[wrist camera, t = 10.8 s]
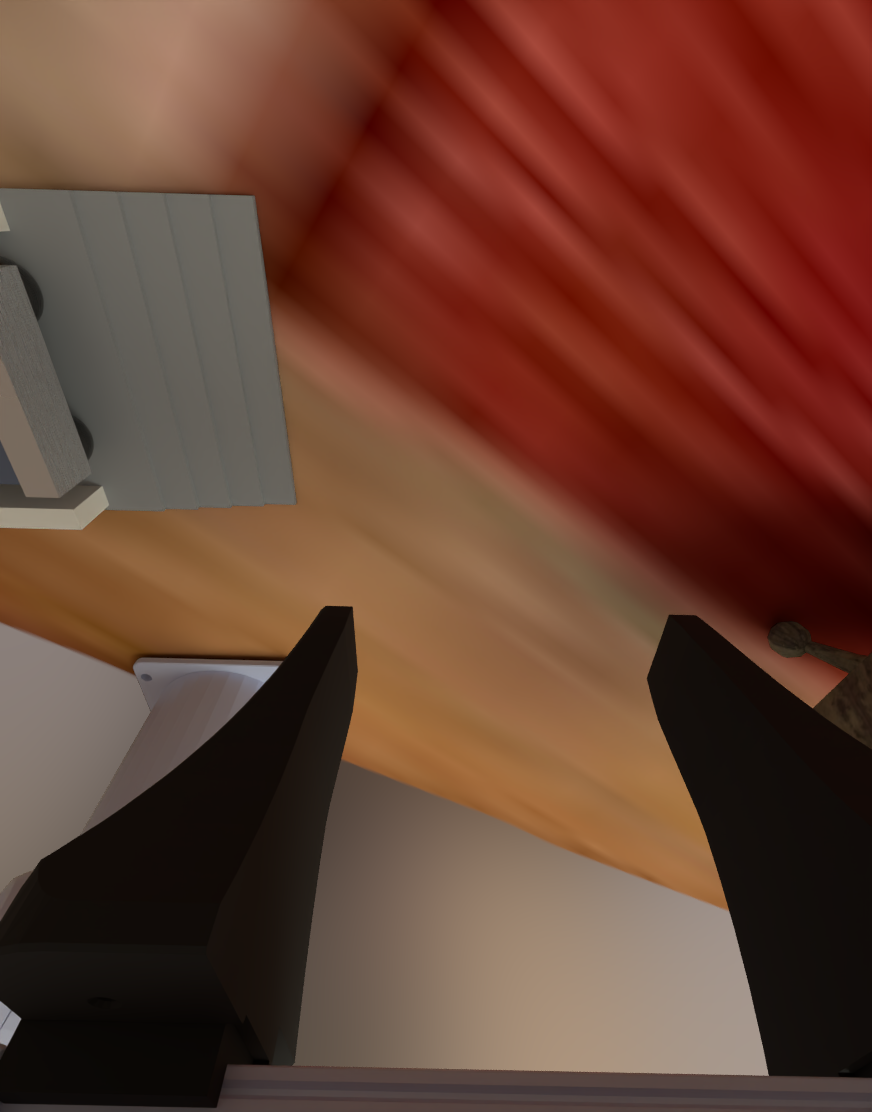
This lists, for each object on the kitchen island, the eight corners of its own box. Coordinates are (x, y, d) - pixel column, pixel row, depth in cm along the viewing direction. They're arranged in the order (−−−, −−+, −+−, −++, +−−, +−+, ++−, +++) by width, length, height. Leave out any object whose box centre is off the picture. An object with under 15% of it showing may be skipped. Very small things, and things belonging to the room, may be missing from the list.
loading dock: (296, 502, 21) (273, 550, 18) (-106, 491, 21) (-195, 538, 18) (254, 195, 15) (210, 193, 12) (-295, 179, 15) (-469, 173, 12)
